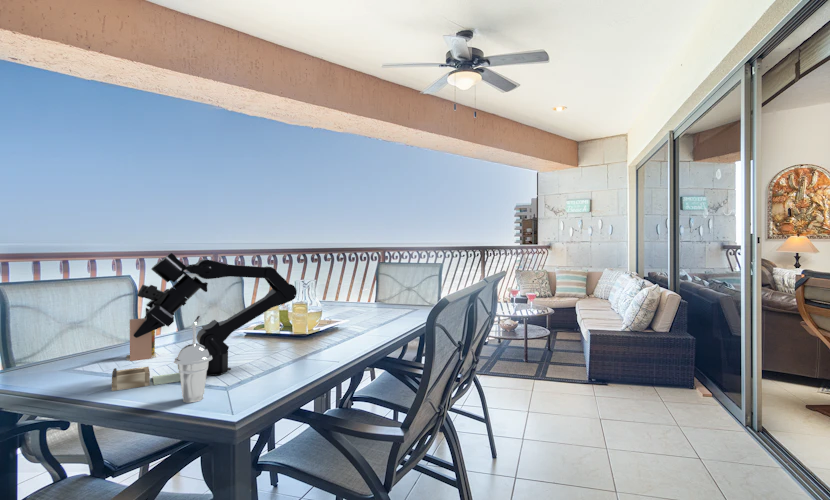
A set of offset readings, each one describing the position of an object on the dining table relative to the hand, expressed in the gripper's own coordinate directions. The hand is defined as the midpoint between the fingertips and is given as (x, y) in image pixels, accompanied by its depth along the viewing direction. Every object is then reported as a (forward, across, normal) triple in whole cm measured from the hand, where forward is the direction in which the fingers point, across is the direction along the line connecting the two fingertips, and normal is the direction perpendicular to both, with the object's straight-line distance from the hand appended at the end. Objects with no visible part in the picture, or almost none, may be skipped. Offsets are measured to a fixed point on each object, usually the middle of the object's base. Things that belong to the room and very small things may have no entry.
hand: (134, 335), depth 116 cm
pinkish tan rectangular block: (+4, 0, +6) cm, 7 cm away
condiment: (+8, -34, +11) cm, 37 cm away
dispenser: (+10, 0, +9) cm, 13 cm away
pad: (+4, 0, +15) cm, 16 cm away
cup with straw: (+1, +22, +18) cm, 28 cm away
